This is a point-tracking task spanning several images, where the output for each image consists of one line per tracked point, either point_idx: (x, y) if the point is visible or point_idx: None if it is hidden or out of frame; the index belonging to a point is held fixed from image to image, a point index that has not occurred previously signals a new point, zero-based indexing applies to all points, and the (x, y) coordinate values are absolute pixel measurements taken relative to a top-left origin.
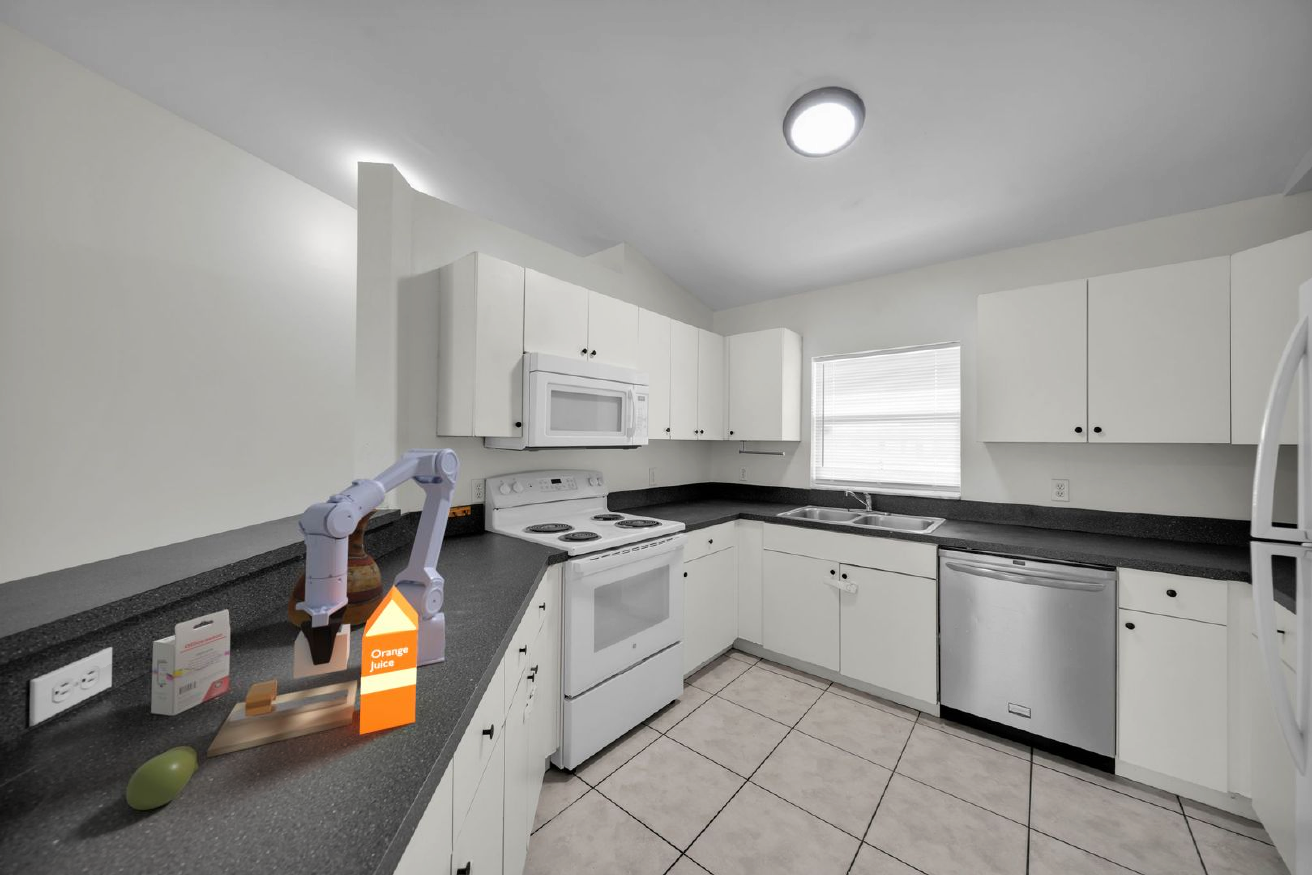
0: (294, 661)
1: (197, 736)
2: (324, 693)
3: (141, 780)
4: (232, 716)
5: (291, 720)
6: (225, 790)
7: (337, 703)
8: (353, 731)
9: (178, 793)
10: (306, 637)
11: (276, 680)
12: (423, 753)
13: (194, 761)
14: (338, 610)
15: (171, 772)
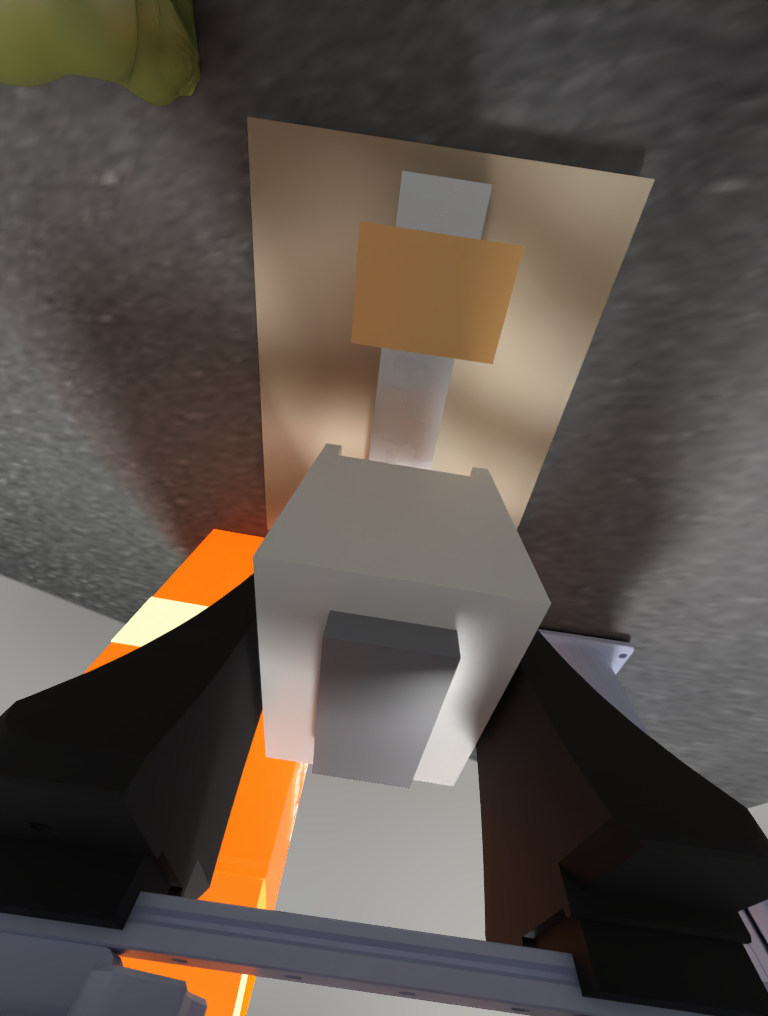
0: (303, 480)
1: (478, 35)
2: None
3: None
4: (447, 179)
5: (335, 398)
6: (40, 234)
7: None
8: (234, 520)
9: None
10: (126, 654)
11: (486, 361)
12: (99, 600)
13: (3, 67)
14: (502, 905)
15: None
